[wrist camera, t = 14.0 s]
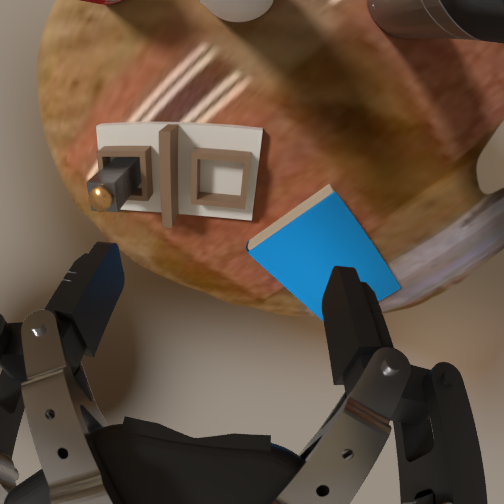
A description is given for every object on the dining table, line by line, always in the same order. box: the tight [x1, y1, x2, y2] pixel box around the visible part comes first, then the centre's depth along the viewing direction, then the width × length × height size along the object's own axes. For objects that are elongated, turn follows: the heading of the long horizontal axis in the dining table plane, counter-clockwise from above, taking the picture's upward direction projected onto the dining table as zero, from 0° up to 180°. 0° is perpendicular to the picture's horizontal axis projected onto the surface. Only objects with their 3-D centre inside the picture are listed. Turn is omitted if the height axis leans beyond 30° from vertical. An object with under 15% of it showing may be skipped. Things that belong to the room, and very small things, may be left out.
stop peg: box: [87, 157, 141, 212], centre depth 36 cm, size 4×4×10 cm
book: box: [246, 184, 401, 321], centre depth 50 cm, size 17×4×25 cm
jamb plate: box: [96, 122, 263, 228], centre depth 39 cm, size 24×14×6 cm, turn 84°
